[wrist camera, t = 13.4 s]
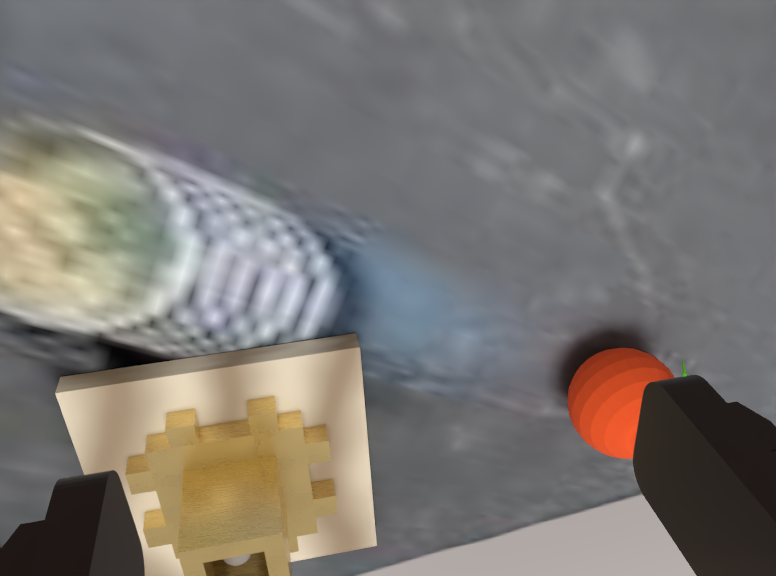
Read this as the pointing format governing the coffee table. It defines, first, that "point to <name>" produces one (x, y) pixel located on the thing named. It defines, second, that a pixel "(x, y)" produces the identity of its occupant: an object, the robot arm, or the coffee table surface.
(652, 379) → the clementine
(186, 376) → the carrier plate
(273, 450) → the gear
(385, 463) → the coffee table surface
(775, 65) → the coffee table surface
